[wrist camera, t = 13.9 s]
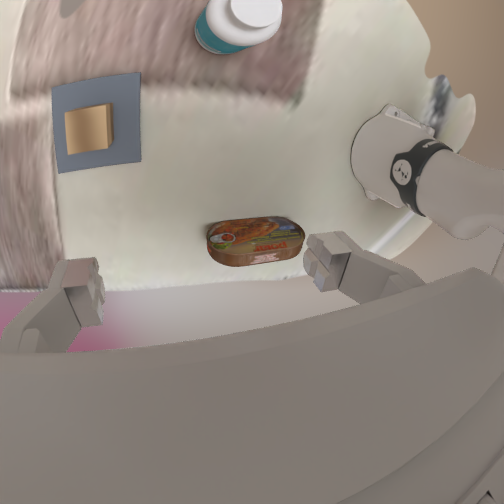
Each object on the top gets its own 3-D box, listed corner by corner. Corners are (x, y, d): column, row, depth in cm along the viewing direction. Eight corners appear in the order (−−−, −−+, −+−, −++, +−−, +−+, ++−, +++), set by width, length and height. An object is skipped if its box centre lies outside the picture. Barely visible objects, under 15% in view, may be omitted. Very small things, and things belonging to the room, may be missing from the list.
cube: (113, 102, 27) (106, 105, 23) (114, 139, 30) (107, 148, 26) (76, 108, 26) (64, 112, 22) (78, 145, 29) (67, 154, 25)
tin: (291, 214, 47) (315, 241, 40) (289, 230, 48) (311, 258, 42) (201, 222, 42) (212, 253, 36) (202, 239, 44) (212, 272, 37)
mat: (140, 72, 27) (140, 72, 26) (141, 160, 34) (140, 161, 33) (53, 87, 23) (51, 87, 23) (60, 171, 30) (58, 173, 29)
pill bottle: (241, 61, 30) (283, 53, 20) (186, 48, 27) (202, 28, 16) (257, 15, 26) (306, -9, 16) (203, 0, 23) (229, -37, 13)
